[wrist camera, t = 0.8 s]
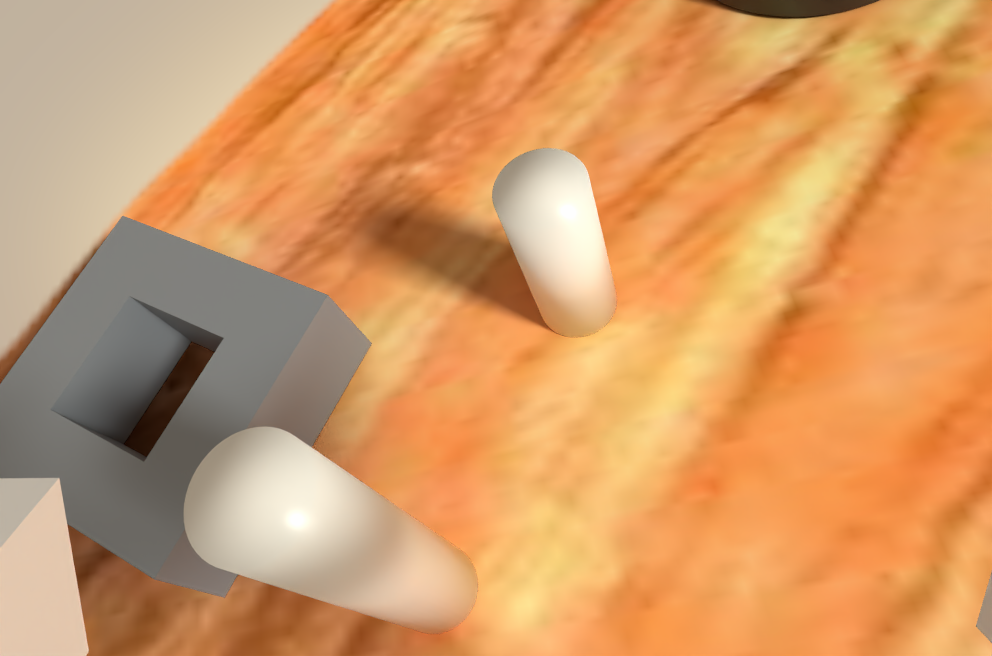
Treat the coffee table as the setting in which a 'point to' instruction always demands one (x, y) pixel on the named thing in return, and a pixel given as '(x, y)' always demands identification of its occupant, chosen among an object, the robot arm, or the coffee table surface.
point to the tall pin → (322, 534)
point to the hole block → (143, 370)
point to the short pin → (557, 239)
